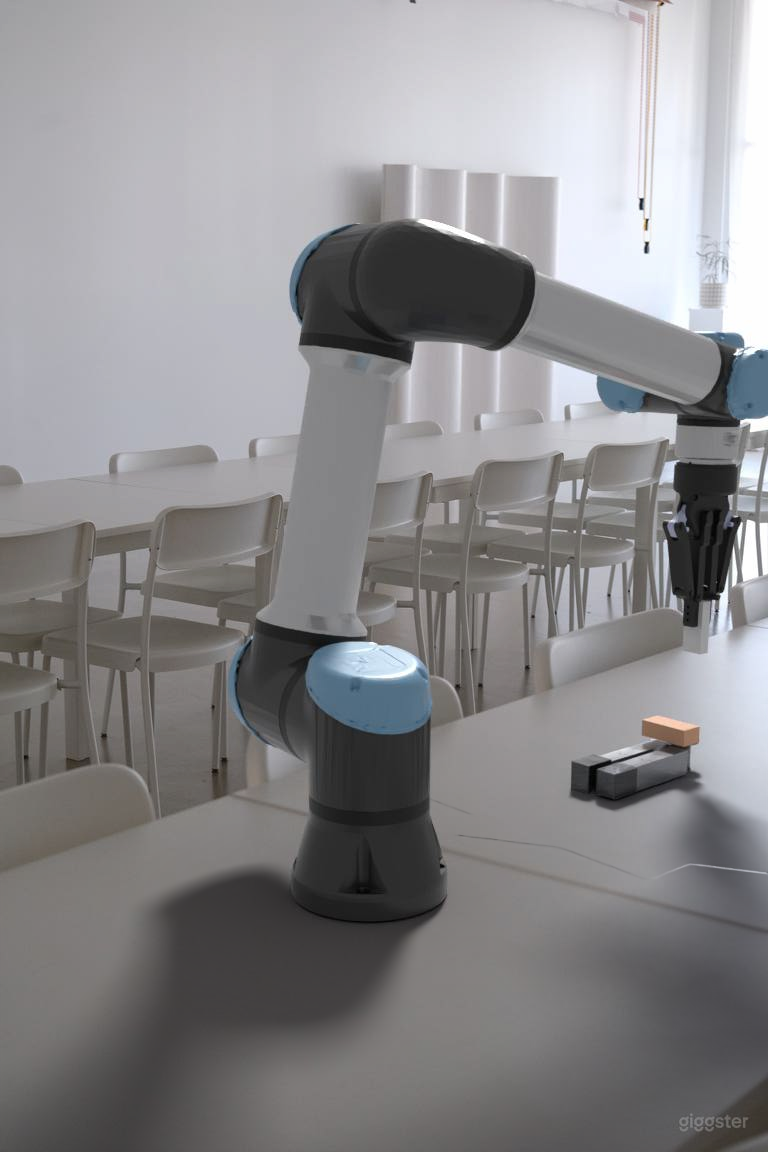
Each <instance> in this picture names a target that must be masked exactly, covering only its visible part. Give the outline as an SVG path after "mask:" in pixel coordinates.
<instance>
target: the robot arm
mask: <svg viewBox="0 0 768 1152" xmlns="http://www.w3.org/2000/svg"><path fill="white" fill-rule="evenodd" d="M288 287H289V289H288V290H289V301H290V306H291V309H292V312H293V313H295V316H296V319H297V323H298V324H299V325H300V326H301V328H300V337H299V342H298V348H297V350H298V352H299V353H300V355H301V356H302V358H303V359H304V361H305V362H306V363H307V365H308V367H309V375H308V382H307V387H306V394H305V400H304V407H303V414H302V419H301V420H302V421H301V426H300V433H299V438H298V444H297V451H296V459H295V464H294V469H293V470H294V471H293V477H292V483H291V490H290V496H289V499H288V500H289V501H288V508H287V514H286V521H285V525H284V526H285V528H284V532H283V533H284V534H283V538H282V546H281V551H280V556H279V557H280V558H279V564H278V571H277V579H276V581H275V582H276V583H275V589H274V595H273V596H274V597H273V599H272V600H271V602H270V603H269V604H268V605H266V606H265V607H262V609H260V610H259V611H258V612H256V615H255V621H254V626H253V633H252V635H251V636H249V637H248V638H247V639H246V640H247V641H246V642H245V643H244V644H243V645H240V646H239V648H238V649H237V650H236V651H235V654H234V655H233V657H232V659H231V662H230V666H229V669H228V672H227V673H228V675H227V693H228V698H229V699H228V700H229V702H230V706H231V707H232V710H233V713H234V714H235V716H236V717H237V719H238V720H239V722H240V723H241V724H242V726H244V727H245V728H246V729H247V730H248V731H250V733H252V734H253V735H254V736H255V737H256V738H258V739H259V740H260V741H261V742H263V743H265V744H267V745H270V746H271V747H273V748H276V749H278V750H281V751H283V752H284V753H286V754H288V755H290V756H292V757H294V758H295V759H297V760H299V761H302V762H303V763H306V764H307V765H308V767H307V768H308V769H307V770H308V777H307V778H308V816H307V820H306V823H305V826H304V830H303V833H302V837H301V840H300V844H299V847H298V851H297V852H298V853H297V856H296V857H295V859H294V862H293V864H292V866H291V871H290V872H291V873H290V874H291V881H290V882H291V884H290V885H291V886H290V887H291V895H292V898H293V899H294V901H295V902H296V903H297V904H298V905H300V906H302V908H304V909H306V910H308V911H310V912H312V913H315V914H317V915H321V916H322V917H323V916H324V917H328V918H333V919H336V920H343V921H351V922H352V921H353V922H356V921H357V922H383V921H384V922H385V921H395V920H401V919H406V918H411V917H415V916H418V915H421V914H423V913H426V912H428V911H431V910H432V909H433V908H436V907H437V906H438V905H440V904H441V903H442V902H444V900H445V899H446V896H447V894H448V885H449V881H448V875H449V874H448V873H449V872H448V866H447V863H446V860H445V858H444V857H443V853H442V849H441V845H440V841H439V838H438V835H437V832H436V829H435V827H434V824H433V820H432V816H431V808H430V807H431V796H430V795H431V794H430V793H431V733H432V732H431V731H432V730H431V725H432V724H431V721H432V720H431V719H432V718H431V716H432V713H433V712H432V711H433V708H434V707H433V704H434V703H433V697H432V690H431V681H430V680H431V679H430V674H429V671H428V669H427V667H426V665H425V664H424V663H423V661H422V660H420V658H418V656H416V655H414V654H413V653H411V652H409V651H407V650H405V649H403V648H400V647H396V646H393V645H387V644H386V645H379V644H378V643H377V642H371V641H367V637H368V630H367V628H366V627H365V625H364V624H363V623H362V621H361V619H360V618H359V617H358V614H357V607H358V602H359V601H358V600H359V597H360V596H359V595H360V588H361V582H362V577H363V570H364V565H365V557H366V552H367V547H368V539H369V534H370V527H371V521H372V515H373V508H374V502H375V497H376V491H377V485H378V478H379V471H380V465H381V460H382V454H383V447H384V441H385V434H386V428H387V424H388V423H387V421H388V417H389V416H388V415H389V410H390V404H391V398H392V392H393V387H394V383H395V382H396V380H398V379H399V378H400V377H402V376H403V375H404V374H406V373H408V371H410V370H411V369H412V362H413V358H414V357H413V356H414V352H415V351H414V350H415V345H416V343H417V342H418V343H419V342H421V343H422V342H423V343H424V342H425V343H426V342H430V343H431V342H432V343H434V342H435V343H449V344H451V343H455V344H461V345H469V346H474V347H476V348H479V349H483V350H486V351H489V352H500V351H503V350H506V349H507V348H509V347H510V348H514V349H516V350H520V351H522V352H525V353H527V354H532V355H534V356H537V357H541V358H544V359H546V360H550V361H551V362H552V361H553V362H554V363H555V362H556V363H558V364H562V365H564V366H568V367H571V368H573V369H576V370H578V371H579V370H580V371H583V372H586V373H589V374H591V375H595V376H596V382H595V383H596V390H597V394H598V396H599V398H600V401H601V403H603V404H604V406H605V408H608V409H609V410H610V411H614V412H620V413H621V412H623V413H628V414H637V413H656V414H668V415H669V414H670V415H676V427H675V428H676V429H675V441H674V443H675V444H674V456H675V457H676V458H678V459H679V461H676V462H675V464H674V467H673V468H674V469H673V481H672V482H673V485H672V487H673V491H675V492H676V493H678V494H679V500H678V503H677V506H676V515H674V517H673V518H672V519H671V520H670V519H664V520H663V521H662V530H663V533H664V534H665V537H666V541H667V542H666V543H667V552H668V553H667V554H668V563H669V573H670V581H671V583H670V584H671V592H672V595H673V596H676V598H677V599H680V600H683V614H682V615H683V616H682V624H683V635H682V651H683V652H686V653H691V654H697V655H703V654H708V653H709V636H710V635H709V634H710V624H711V619H712V616H711V615H712V605H713V603H712V602H713V601H717V602H718V601H720V600H721V597H722V595H720V594H723V593H724V591H725V589H726V585H727V579H728V575H729V570H730V566H731V565H730V564H731V559H732V554H733V550H734V546H735V540H736V535H737V533H738V530H739V528H740V526H741V524H742V517H741V516H740V515H734V514H733V513H732V512H731V511H730V507H731V505H730V502H729V496H731V495H734V494H736V492H737V490H738V489H737V488H738V487H737V486H738V472H739V471H738V470H739V467H738V466H737V464H735V463H733V462H734V460H737V459H738V458H739V447H740V431H741V421H745V420H750V419H751V420H759V419H764V418H766V417H768V349H765V348H755V347H754V346H745V339H744V336H742V335H741V334H740V333H738V332H735V331H734V332H733V331H730V332H729V331H728V332H727V331H726V332H725V331H693V330H690V329H687V328H684V327H681V326H678V325H676V324H674V323H671V322H669V321H666V320H664V319H660V318H659V317H656V316H653V315H650V314H648V313H645V312H643V311H640V310H637V309H635V308H632V307H629V306H628V305H624V304H622V303H619V302H616V301H613V300H611V299H609V298H606V297H603V296H601V295H598V294H595V293H594V292H591V291H588V290H585V289H582V288H579V287H577V286H574V285H572V284H569V283H567V282H564V281H562V280H559V279H557V278H554V277H551V276H548V275H546V274H543V273H541V272H538V271H537V269H536V267H535V264H534V263H533V262H532V260H531V259H530V258H529V257H528V256H526V255H524V254H522V253H519V252H517V251H515V250H512V249H509V248H506V247H504V246H503V245H502V246H501V245H499V244H497V243H494V242H492V241H490V240H487V239H485V238H483V237H480V236H477V235H475V234H473V233H469V232H467V231H464V230H463V229H459V228H456V227H454V226H451V225H448V224H446V223H442V222H437V221H434V220H431V219H424V218H418V217H415V218H411V217H410V218H402V219H401V218H399V219H396V220H389V221H377V222H367V223H350V224H345V225H342V226H340V227H337V228H334V229H331V230H329V231H326V232H324V233H322V234H320V235H318V236H317V237H315V238H314V239H313V240H312V241H310V242H309V243H308V244H307V245H305V247H304V248H303V250H302V251H301V253H299V255H298V257H297V259H296V261H295V262H294V265H293V268H292V269H291V274H290V279H289V286H288Z"/></svg>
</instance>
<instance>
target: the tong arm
mask: <svg viewBox="0 0 768 1152" xmlns="http://www.w3.org/2000/svg"><path fill="white" fill-rule="evenodd" d="M699 743H700V741H699V742H698V743H695V744H692V745H688V746H691V747H692V746H696V745H698V744H699ZM674 745H675V744H674ZM687 761H688V750H686V749H682V748H678V747H674V746H669V747H666V748H663V749H660V750H657V751H654V752H651V753H648V754H645V755H642V756H638V757H635V758H632V759H629V760H626V761H623V762H618V763H615V764H612V765H609V766H606V767H602V768H599V769H597V789H596V791H595V792H596V795H598V796H602V797H605V798H609V799H611V800H614V801H616V800H617V799H621V798H624V797H627V796H629V795H630V796H631V795H633V794H635V793H637V792H639V791H642V790H645V789H648V788H650V787H653V786H656V785H659V784H663V783H665V782H668V781H671V780H673V779H677V778H679V777H682V776H685V775H687V774H688V769H687Z"/></svg>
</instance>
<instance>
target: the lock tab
mask: <svg viewBox="0 0 768 1152" xmlns="http://www.w3.org/2000/svg"><path fill="white" fill-rule="evenodd" d="M700 730H701V729H700V725H695V724H692V723H688V722H684V721H680V720H677V719H672V718H669V717H665V716H662V715H654V716H650V717H647V718H643V719H642V720H641V737H642V736H643V737H647V738H649V739H652V738H653V739H657V740H660V741H664V742H668V743H671V744H675V745H679V746H682V747H685V746H688V745H692V744H695V743H698V742H699V743H700ZM699 743H698V744H699ZM692 746H693V745H692Z"/></svg>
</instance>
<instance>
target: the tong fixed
mask: <svg viewBox="0 0 768 1152" xmlns="http://www.w3.org/2000/svg"><path fill="white" fill-rule="evenodd" d="M669 746H674V747H678V748H682V749H686V750H688V761H687V770H688V769H690V768H691V753H692V752H691V751H692V750H691V749H692V746H685V747H682V746H679V745H674V744H671V743H668V742H664V741H660V740H657V739H653V738H649V739H648V740H647V741H645V742H640V743H637V744H634V745H631V746H628V747H624V748H621V749H617V750H614V751H610V752H607V753H604V754H601V755H597V754H594V753H593V754H591V755H587V756H584V757H580V758H577V759H574V760H571V763H570V764H571V767H570V768H571V769H570V770H571V771H570V788H571V789H573V790H577V791H579V792H583V793H586V794H590V793H594V792H596V789H597V769H599V768H602V767H606V766H609V765H612V764H615V763H618V762H623V761H626V760H629V759H632V758H635V757H638V756H642V755H645V754H648V753H651V752H654V751H657V750H660V749H663V748H666V747H669Z"/></svg>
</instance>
